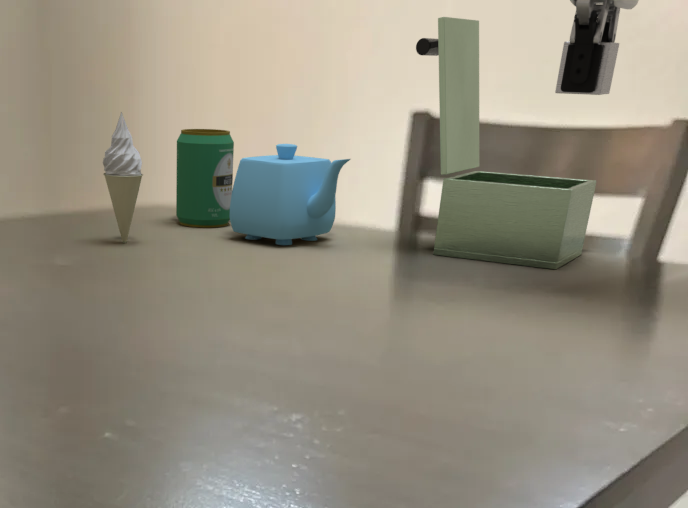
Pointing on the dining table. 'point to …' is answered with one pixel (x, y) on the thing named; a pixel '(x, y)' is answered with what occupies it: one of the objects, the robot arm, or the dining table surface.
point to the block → (603, 74)
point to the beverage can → (204, 177)
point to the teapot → (284, 196)
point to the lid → (457, 91)
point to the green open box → (513, 218)
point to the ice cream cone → (123, 176)
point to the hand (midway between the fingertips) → (583, 89)
